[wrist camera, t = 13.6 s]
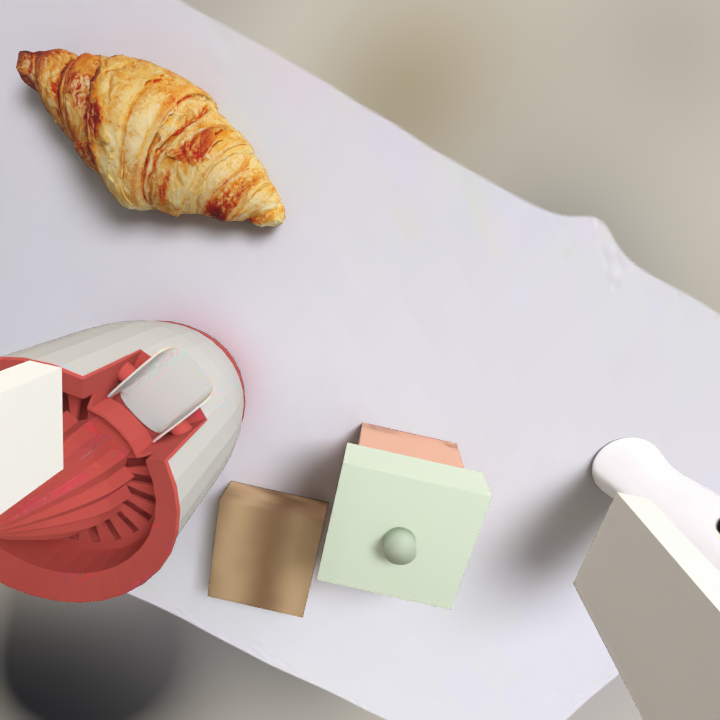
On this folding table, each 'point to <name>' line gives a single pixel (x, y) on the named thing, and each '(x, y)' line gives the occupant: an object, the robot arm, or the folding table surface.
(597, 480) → the beer glass
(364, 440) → the open box
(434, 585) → the lid
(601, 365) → the folding table surface
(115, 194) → the croissant
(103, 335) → the citrus juicer
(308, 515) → the wooden block
